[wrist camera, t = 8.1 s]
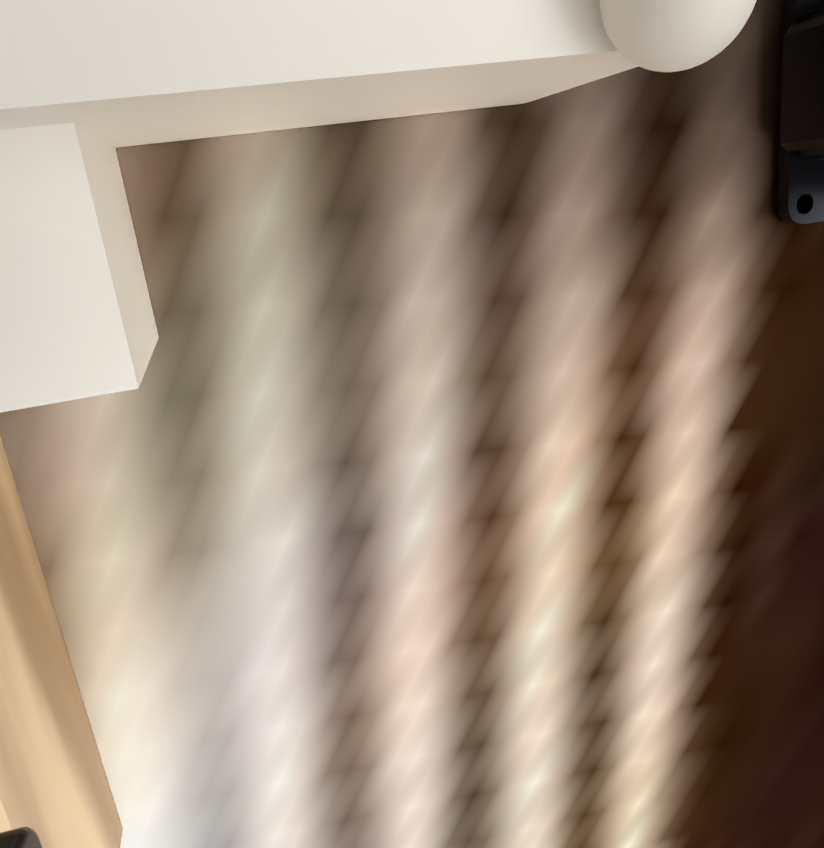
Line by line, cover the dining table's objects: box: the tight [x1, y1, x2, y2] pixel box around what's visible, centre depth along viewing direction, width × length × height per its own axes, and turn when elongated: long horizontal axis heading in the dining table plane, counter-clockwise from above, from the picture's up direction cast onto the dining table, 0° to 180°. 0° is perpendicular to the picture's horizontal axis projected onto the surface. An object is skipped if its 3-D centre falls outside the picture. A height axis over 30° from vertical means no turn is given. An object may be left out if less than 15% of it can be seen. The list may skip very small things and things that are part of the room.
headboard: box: [0, 0, 756, 412], centre depth 11 cm, size 21×6×9 cm, turn 97°
